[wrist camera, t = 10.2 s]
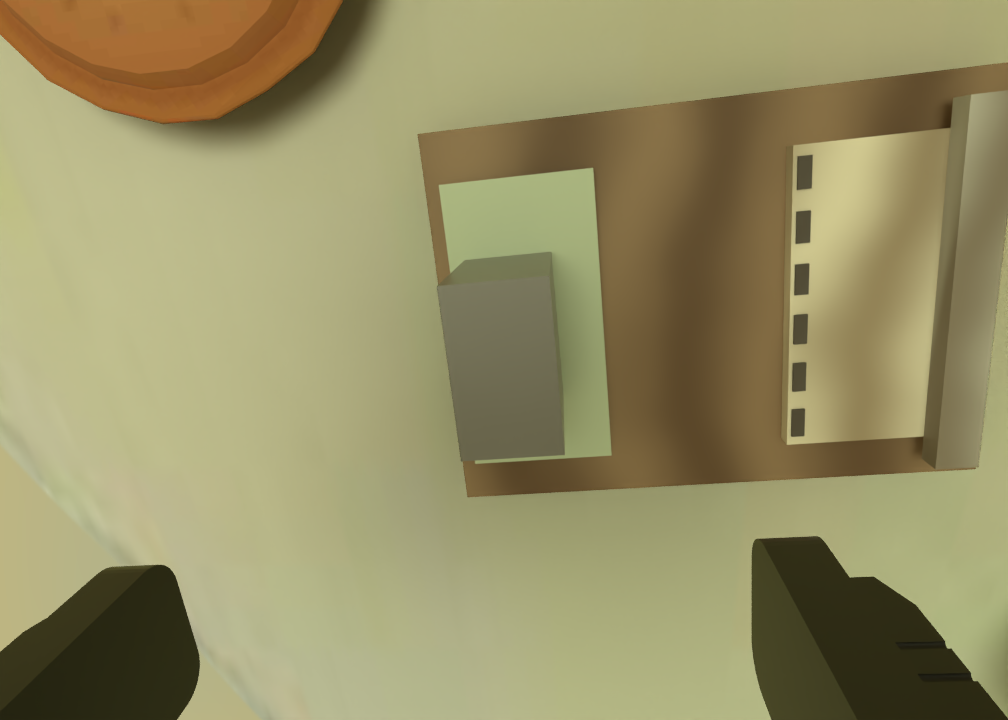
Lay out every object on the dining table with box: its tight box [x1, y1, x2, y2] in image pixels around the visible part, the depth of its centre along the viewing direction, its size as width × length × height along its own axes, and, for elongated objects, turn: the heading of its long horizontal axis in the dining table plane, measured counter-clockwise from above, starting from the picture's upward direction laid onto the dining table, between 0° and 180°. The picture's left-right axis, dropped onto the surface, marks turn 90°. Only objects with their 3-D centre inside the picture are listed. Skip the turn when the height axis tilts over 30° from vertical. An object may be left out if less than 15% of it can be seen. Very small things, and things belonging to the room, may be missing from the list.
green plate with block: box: [437, 168, 612, 464], centre depth 23 cm, size 6×12×6 cm, turn 6°
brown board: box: [418, 63, 1008, 497], centre depth 25 cm, size 22×16×3 cm
